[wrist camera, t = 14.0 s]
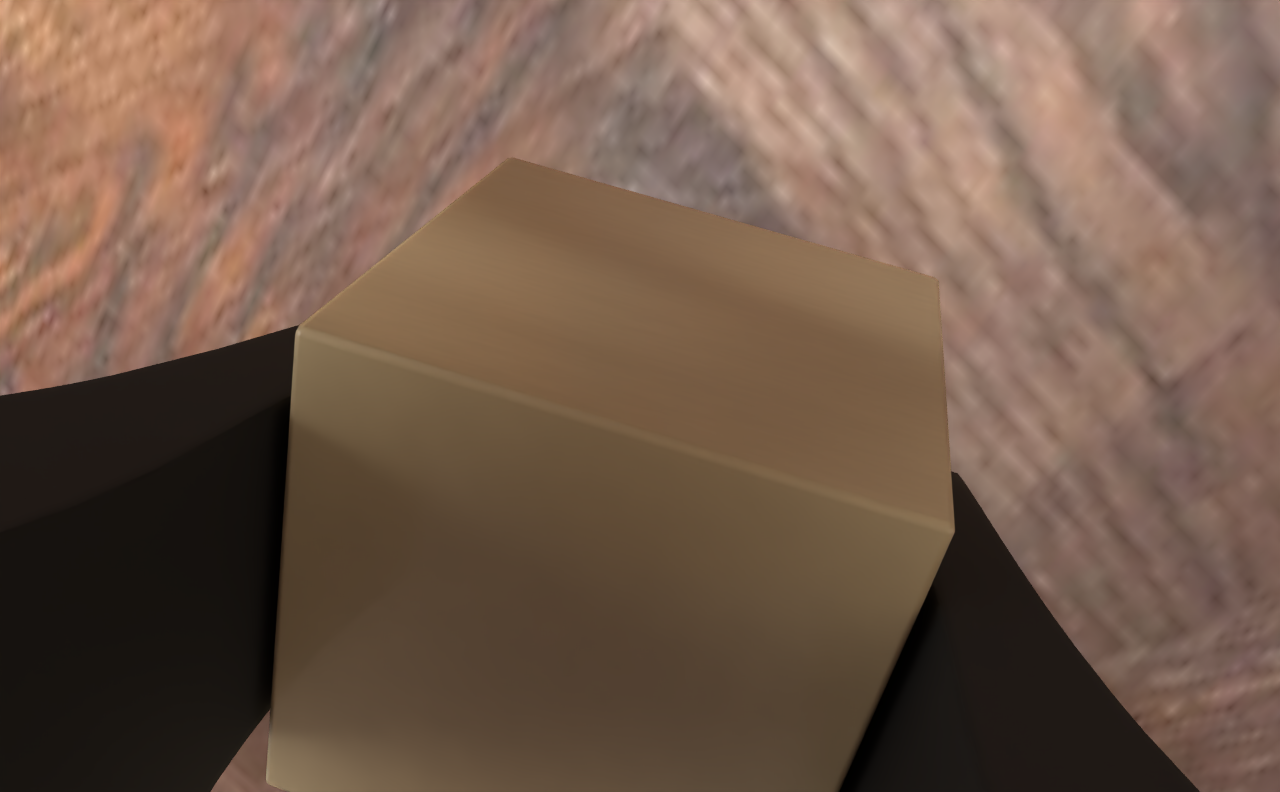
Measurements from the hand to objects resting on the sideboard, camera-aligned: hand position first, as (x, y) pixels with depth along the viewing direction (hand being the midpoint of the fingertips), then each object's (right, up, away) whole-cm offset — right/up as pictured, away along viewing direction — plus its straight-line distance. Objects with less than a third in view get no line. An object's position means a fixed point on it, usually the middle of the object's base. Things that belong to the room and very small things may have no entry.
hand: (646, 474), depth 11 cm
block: (0, +1, +1) cm, 1 cm away
